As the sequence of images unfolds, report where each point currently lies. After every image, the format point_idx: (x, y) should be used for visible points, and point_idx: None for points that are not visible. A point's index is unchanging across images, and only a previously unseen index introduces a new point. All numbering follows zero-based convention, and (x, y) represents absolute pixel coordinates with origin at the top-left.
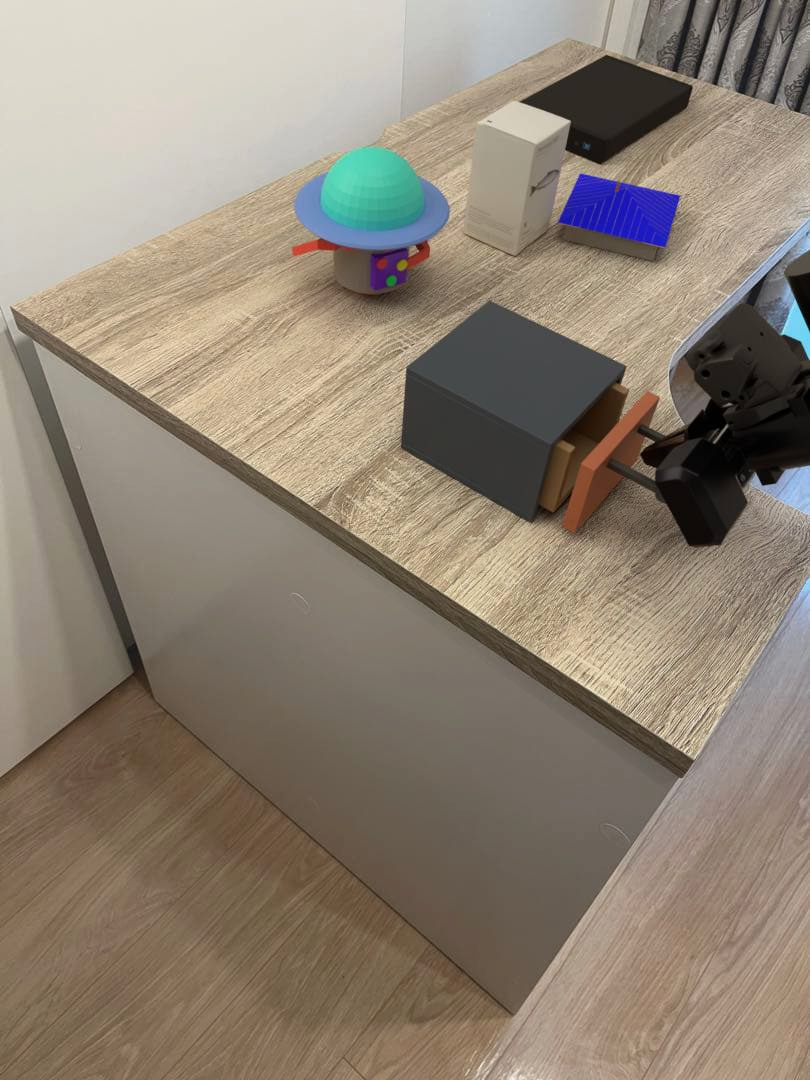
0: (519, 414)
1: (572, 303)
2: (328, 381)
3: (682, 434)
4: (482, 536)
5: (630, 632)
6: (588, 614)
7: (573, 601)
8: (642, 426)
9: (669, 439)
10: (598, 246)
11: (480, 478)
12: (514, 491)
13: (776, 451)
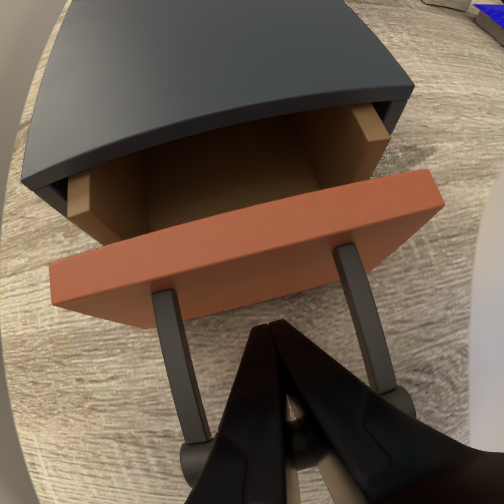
0: (62, 86)
1: (454, 52)
2: None
3: (276, 472)
4: (70, 241)
5: (106, 483)
6: (80, 429)
7: (78, 403)
8: (347, 249)
9: (273, 408)
10: (501, 42)
11: None
12: None
13: None
